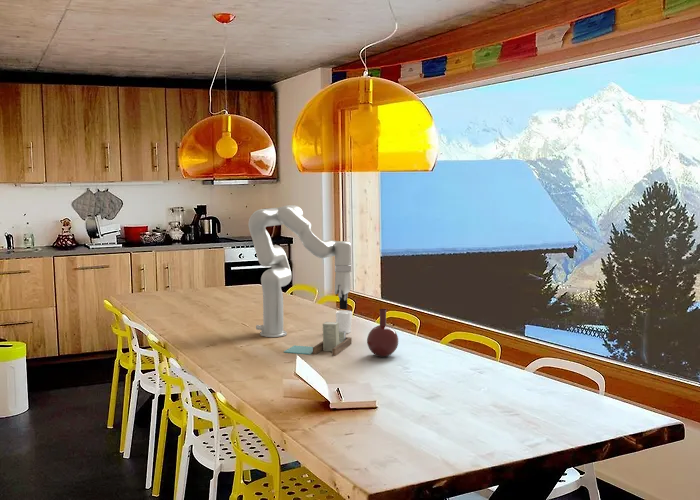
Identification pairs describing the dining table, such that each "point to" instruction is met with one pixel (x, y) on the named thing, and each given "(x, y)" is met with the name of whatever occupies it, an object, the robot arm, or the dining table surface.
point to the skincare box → (330, 335)
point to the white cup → (344, 320)
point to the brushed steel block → (342, 336)
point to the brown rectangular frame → (335, 350)
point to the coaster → (300, 350)
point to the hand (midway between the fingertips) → (343, 308)
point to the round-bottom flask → (382, 338)
